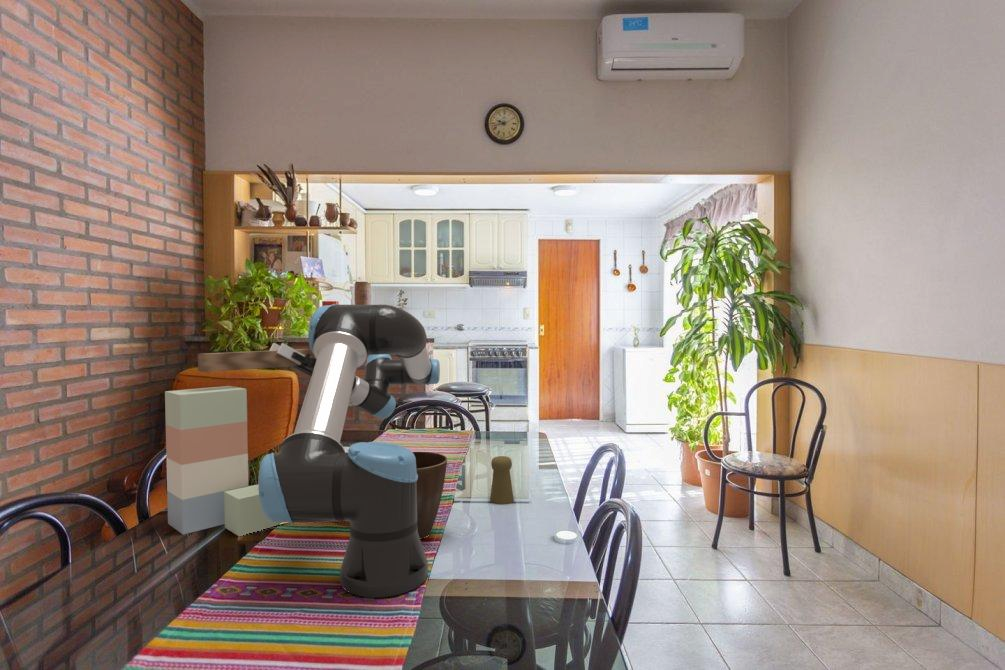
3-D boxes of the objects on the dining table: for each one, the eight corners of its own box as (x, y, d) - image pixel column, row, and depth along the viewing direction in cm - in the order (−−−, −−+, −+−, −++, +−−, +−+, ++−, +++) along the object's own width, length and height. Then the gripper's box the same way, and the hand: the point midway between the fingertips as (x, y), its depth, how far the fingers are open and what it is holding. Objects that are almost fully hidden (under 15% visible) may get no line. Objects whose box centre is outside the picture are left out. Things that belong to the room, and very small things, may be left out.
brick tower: (231, 508, 138) (229, 385, 137) (249, 517, 131) (246, 388, 130) (167, 523, 128) (164, 391, 127) (182, 534, 121) (179, 395, 120)
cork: (514, 496, 145) (514, 454, 145) (512, 504, 139) (512, 460, 139) (491, 496, 145) (490, 453, 145) (488, 503, 139) (488, 459, 139)
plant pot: (435, 551, 111) (434, 470, 110) (364, 545, 114) (363, 467, 113) (456, 524, 125) (455, 452, 125) (393, 520, 128) (392, 450, 128)
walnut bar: (304, 364, 148) (304, 348, 148) (312, 364, 145) (312, 349, 145) (198, 371, 129) (197, 353, 129) (204, 372, 126) (204, 354, 126)
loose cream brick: (277, 513, 133) (277, 480, 133) (293, 521, 128) (293, 486, 128) (224, 527, 125) (224, 491, 125) (239, 536, 119) (238, 499, 119)
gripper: (359, 402, 148) (284, 362, 133) (325, 396, 160) (253, 359, 145) (371, 376, 151) (299, 334, 136) (337, 373, 163) (267, 334, 147)
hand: (275, 347), depth 140 cm, fingers closed on walnut bar, 4 cm apart
